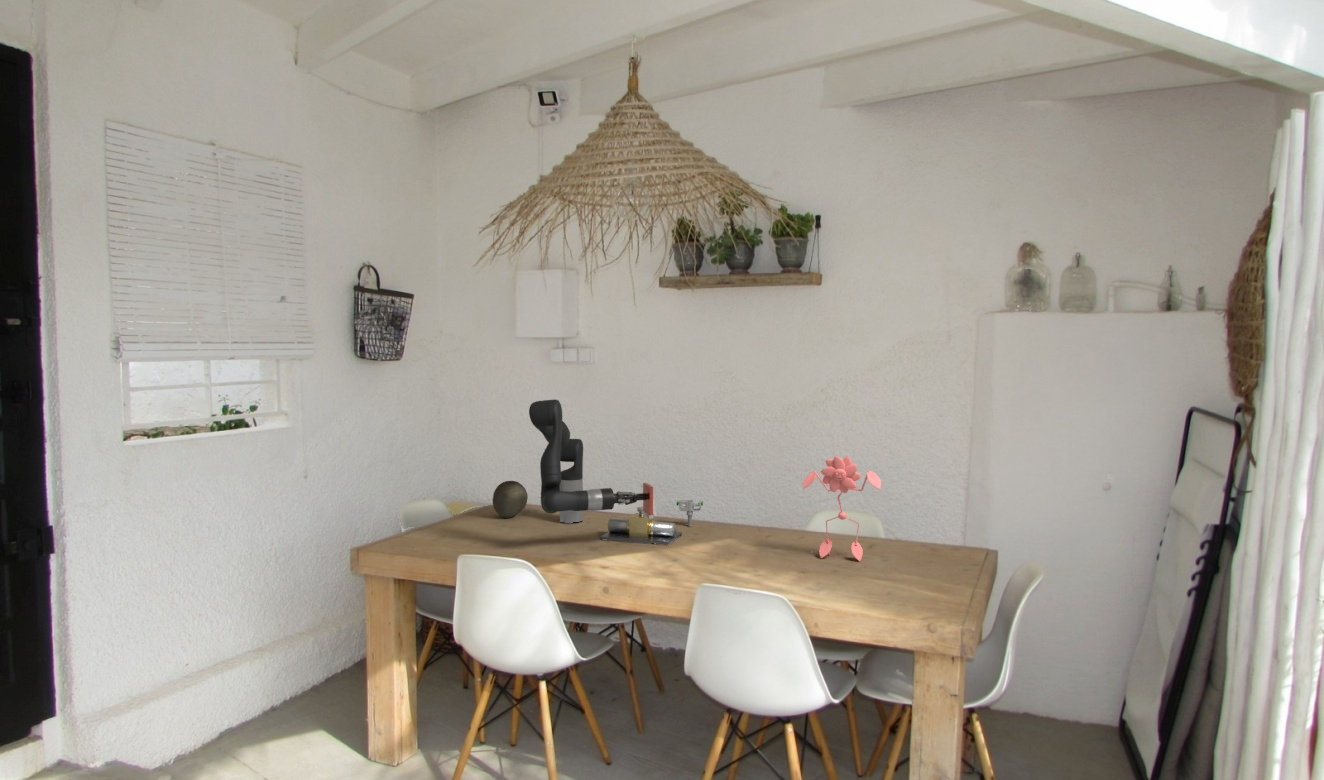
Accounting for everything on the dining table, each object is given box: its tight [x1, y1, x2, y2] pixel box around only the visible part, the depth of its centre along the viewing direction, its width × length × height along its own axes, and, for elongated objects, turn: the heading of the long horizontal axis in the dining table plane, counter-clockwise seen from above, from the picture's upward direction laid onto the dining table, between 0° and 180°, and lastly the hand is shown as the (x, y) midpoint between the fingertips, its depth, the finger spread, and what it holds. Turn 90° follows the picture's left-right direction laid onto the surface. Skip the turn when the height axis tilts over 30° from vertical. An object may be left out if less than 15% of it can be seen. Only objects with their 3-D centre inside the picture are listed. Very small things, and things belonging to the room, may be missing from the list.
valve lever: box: [636, 482, 655, 519], centre depth 299 cm, size 3×15×11 cm, turn 16°
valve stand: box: [600, 512, 683, 546], centre depth 306 cm, size 26×16×10 cm, turn 71°
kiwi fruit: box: [492, 480, 529, 519], centre depth 340 cm, size 14×14×15 cm
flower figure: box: [802, 455, 882, 562], centre depth 271 cm, size 15×26×35 cm, turn 68°
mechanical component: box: [676, 499, 704, 527], centre depth 324 cm, size 3×10×10 cm, turn 89°
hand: (646, 496), depth 296 cm, fingers closed
